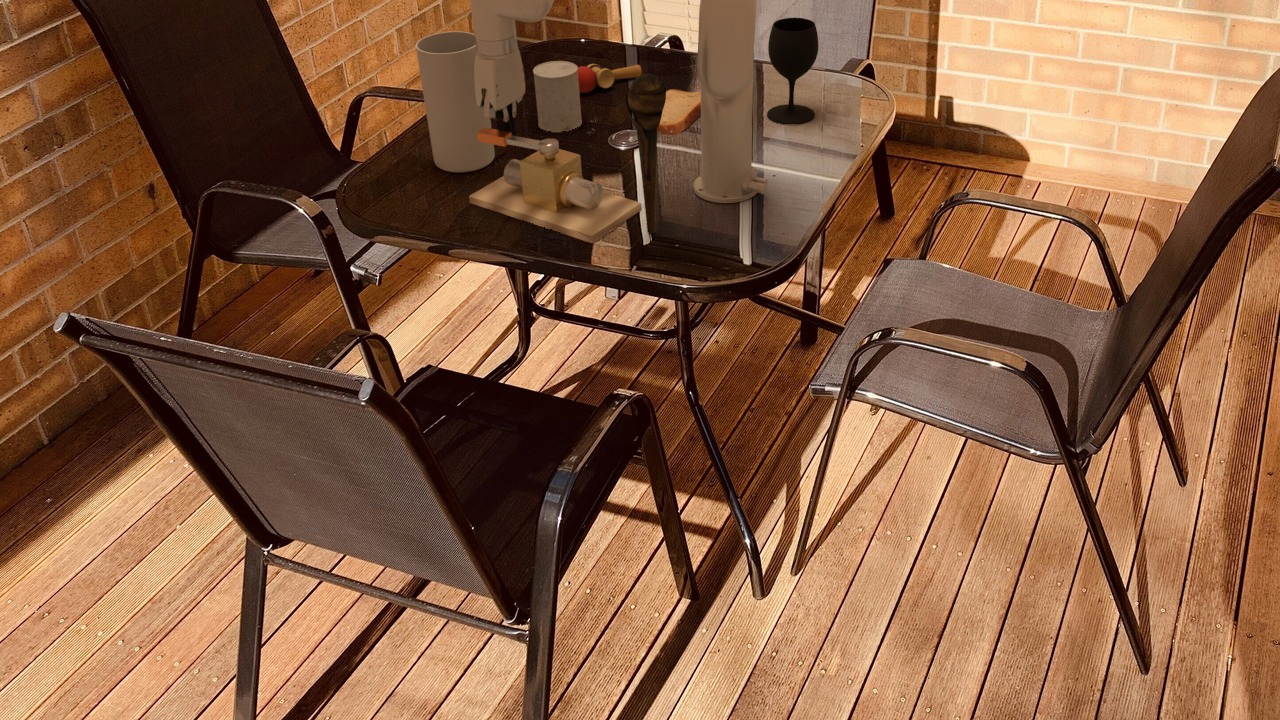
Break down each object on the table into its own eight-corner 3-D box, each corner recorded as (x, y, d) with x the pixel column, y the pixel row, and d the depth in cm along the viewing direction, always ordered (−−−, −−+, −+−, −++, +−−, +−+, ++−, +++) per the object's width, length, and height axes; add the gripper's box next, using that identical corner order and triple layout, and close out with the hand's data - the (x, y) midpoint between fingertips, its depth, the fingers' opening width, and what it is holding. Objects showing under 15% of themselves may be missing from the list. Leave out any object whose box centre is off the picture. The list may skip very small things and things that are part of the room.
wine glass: (824, 116, 245) (830, 25, 234) (788, 129, 241) (791, 36, 229) (793, 102, 252) (796, 12, 241) (756, 114, 248) (758, 23, 236)
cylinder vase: (461, 179, 227) (443, 58, 213) (422, 163, 234) (402, 45, 220) (507, 158, 235) (493, 39, 220) (468, 142, 242) (451, 27, 227)
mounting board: (641, 209, 214) (641, 202, 213) (592, 243, 204) (592, 236, 203) (520, 173, 229) (520, 166, 228) (469, 202, 219) (468, 196, 218)
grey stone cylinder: (576, 133, 244) (571, 78, 237) (533, 131, 245) (527, 76, 238) (586, 115, 251) (582, 61, 244) (544, 113, 253) (539, 60, 246)
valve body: (608, 203, 213) (605, 157, 207) (582, 221, 208) (578, 173, 202) (527, 179, 223) (522, 134, 217) (500, 195, 218) (494, 149, 212)
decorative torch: (631, 226, 208) (623, 69, 191) (668, 223, 209) (663, 65, 192) (634, 244, 203) (626, 84, 186) (672, 241, 203) (668, 80, 186)
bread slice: (665, 139, 240) (664, 122, 238) (625, 111, 253) (624, 95, 251) (737, 120, 247) (737, 103, 244) (694, 93, 260) (694, 77, 258)
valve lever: (562, 149, 210) (562, 140, 209) (552, 157, 208) (551, 148, 207) (487, 135, 217) (486, 126, 216) (476, 142, 214) (475, 133, 213)
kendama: (627, 76, 273) (562, 84, 264) (631, 52, 269) (565, 59, 260) (644, 92, 268) (578, 100, 259) (649, 67, 264) (582, 75, 255)
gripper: (504, 28, 214) (514, 120, 224) (454, 54, 203) (468, 149, 214) (536, 34, 210) (545, 126, 221) (488, 60, 200) (500, 156, 211)
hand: (507, 137), depth 217 cm, fingers closed
